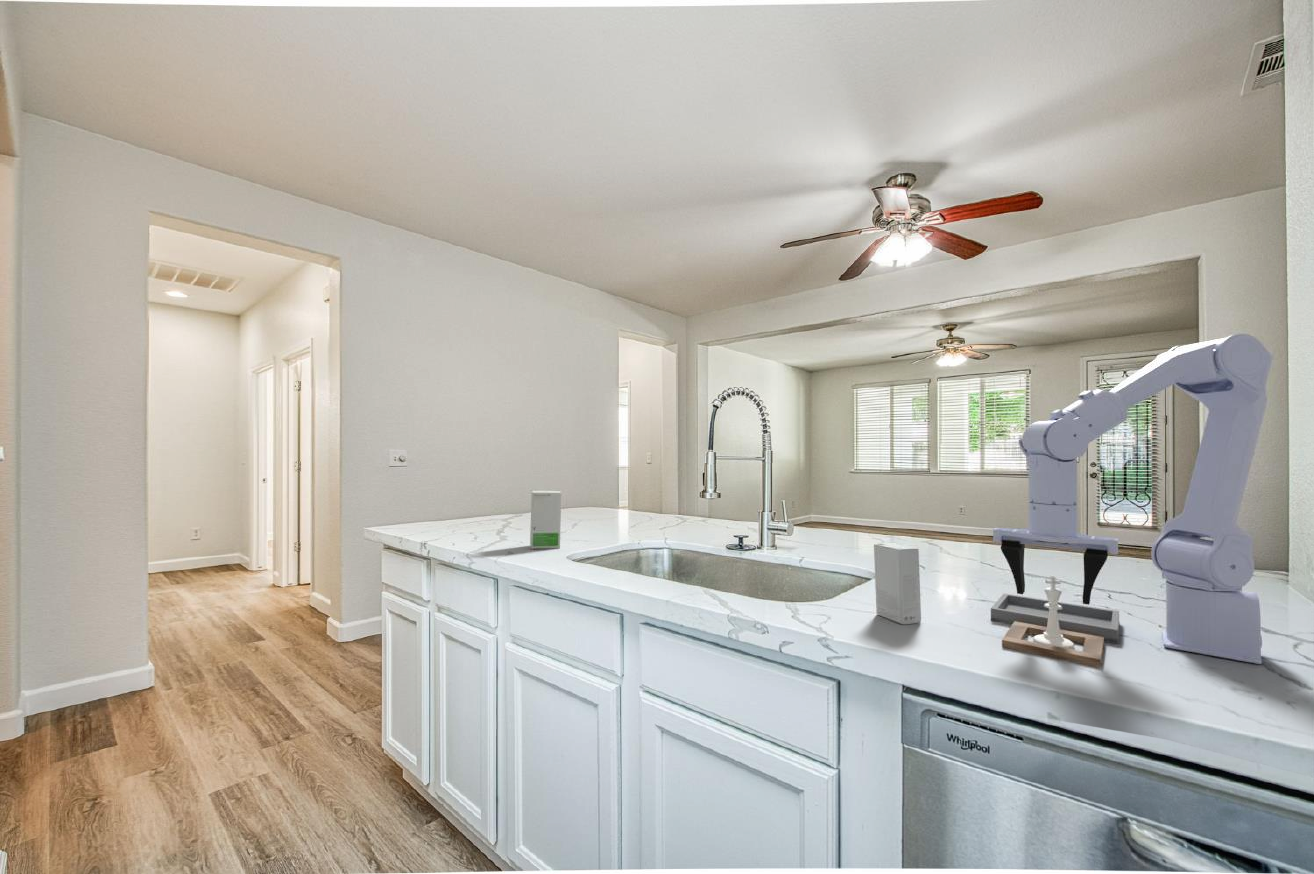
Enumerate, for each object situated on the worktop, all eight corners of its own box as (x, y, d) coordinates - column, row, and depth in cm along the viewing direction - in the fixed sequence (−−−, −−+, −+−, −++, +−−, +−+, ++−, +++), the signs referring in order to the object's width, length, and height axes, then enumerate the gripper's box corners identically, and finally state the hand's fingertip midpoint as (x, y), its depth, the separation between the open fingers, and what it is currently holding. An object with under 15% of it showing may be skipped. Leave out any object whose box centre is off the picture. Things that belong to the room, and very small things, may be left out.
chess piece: (1082, 653, 76) (1081, 581, 76) (1042, 650, 77) (1042, 579, 77) (1063, 640, 81) (1063, 573, 81) (1026, 638, 82) (1026, 571, 82)
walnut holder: (1104, 644, 80) (1103, 637, 80) (1100, 667, 72) (1100, 659, 72) (1014, 627, 87) (1014, 621, 87) (1001, 646, 79) (1001, 639, 79)
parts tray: (1119, 623, 89) (1119, 611, 89) (1117, 643, 80) (1117, 630, 80) (1003, 604, 100) (1003, 593, 100) (990, 620, 90) (990, 608, 90)
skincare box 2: (922, 622, 89) (922, 547, 90) (900, 625, 88) (900, 549, 88) (894, 611, 95) (893, 541, 95) (873, 614, 94) (873, 543, 94)
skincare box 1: (530, 549, 150) (530, 492, 150) (530, 545, 157) (530, 490, 157) (561, 548, 152) (561, 491, 152) (559, 544, 159) (560, 489, 159)
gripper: (989, 501, 81) (989, 593, 81) (1117, 509, 72) (1117, 614, 72) (998, 498, 87) (998, 584, 86) (1118, 505, 77) (1118, 602, 77)
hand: (1052, 597), depth 79 cm, fingers open, 7 cm apart
